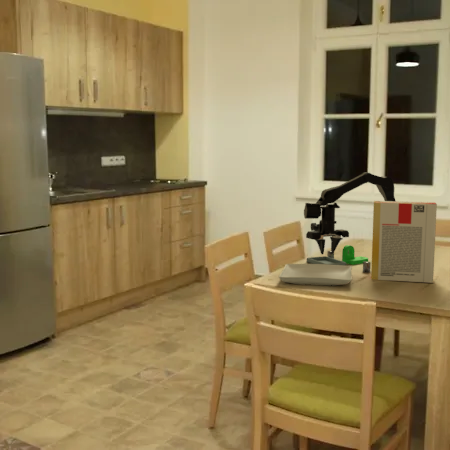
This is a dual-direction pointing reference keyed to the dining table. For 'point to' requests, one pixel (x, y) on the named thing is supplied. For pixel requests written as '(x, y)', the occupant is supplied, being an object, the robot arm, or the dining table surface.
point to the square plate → (316, 274)
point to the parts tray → (325, 261)
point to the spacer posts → (365, 264)
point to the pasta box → (403, 241)
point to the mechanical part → (351, 256)
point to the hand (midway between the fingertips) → (327, 253)
